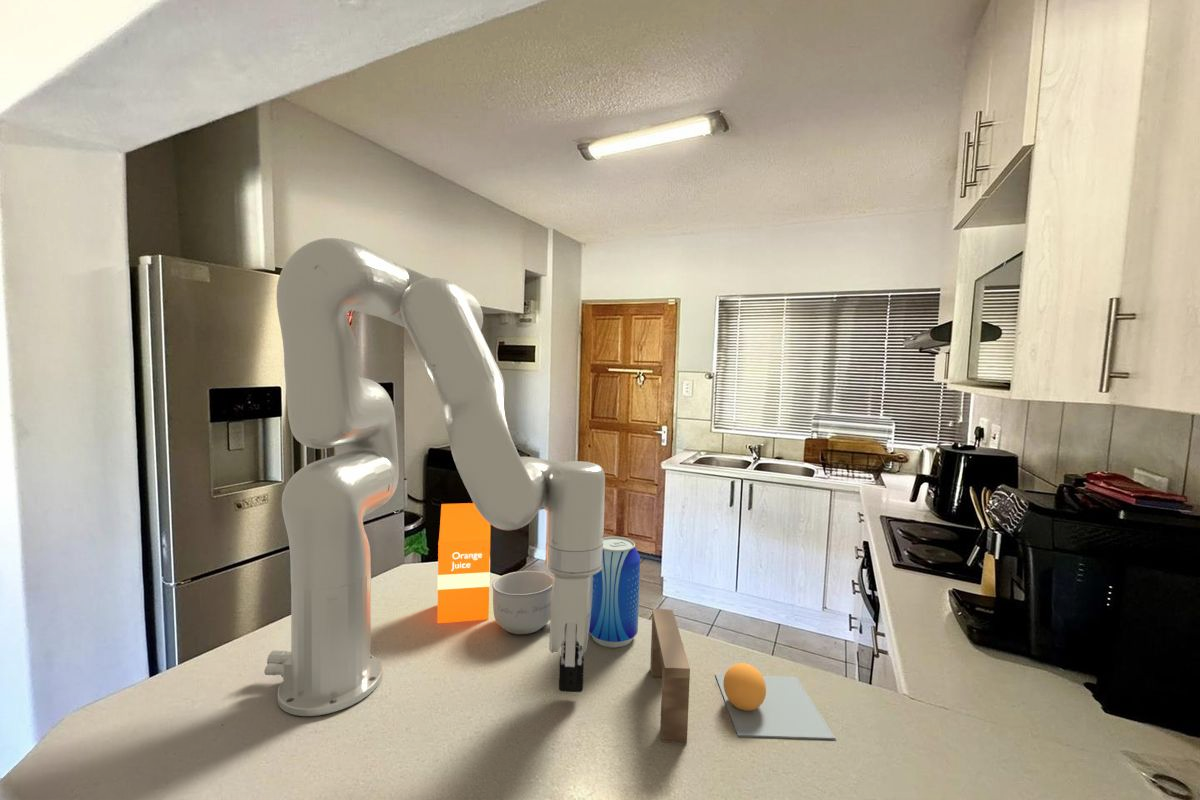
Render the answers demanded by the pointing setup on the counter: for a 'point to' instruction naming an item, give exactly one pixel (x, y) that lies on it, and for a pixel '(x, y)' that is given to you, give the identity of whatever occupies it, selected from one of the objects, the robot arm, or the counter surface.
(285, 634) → the counter surface
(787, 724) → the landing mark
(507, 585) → the teacup
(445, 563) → the orange juice
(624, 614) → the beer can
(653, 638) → the bridge
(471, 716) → the counter surface
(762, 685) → the ball
